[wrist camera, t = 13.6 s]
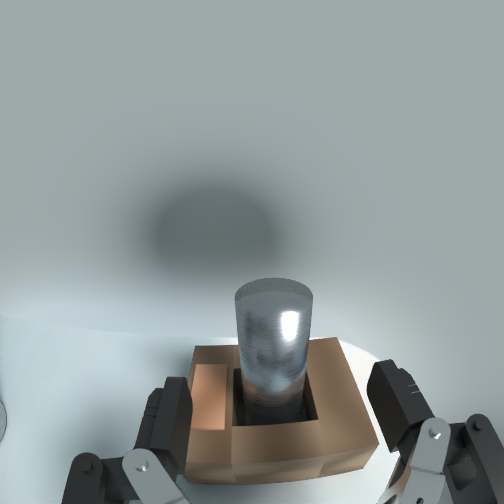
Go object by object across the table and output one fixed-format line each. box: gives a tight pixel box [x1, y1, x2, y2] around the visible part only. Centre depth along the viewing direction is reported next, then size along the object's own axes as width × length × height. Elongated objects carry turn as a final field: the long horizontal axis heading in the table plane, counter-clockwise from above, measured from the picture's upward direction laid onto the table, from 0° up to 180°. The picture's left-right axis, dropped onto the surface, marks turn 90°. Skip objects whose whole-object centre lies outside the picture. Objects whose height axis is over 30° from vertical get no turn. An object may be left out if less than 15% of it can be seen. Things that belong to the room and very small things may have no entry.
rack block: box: [183, 337, 379, 485], centre depth 18 cm, size 12×11×4 cm
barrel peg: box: [235, 278, 313, 426], centre depth 17 cm, size 4×4×12 cm
